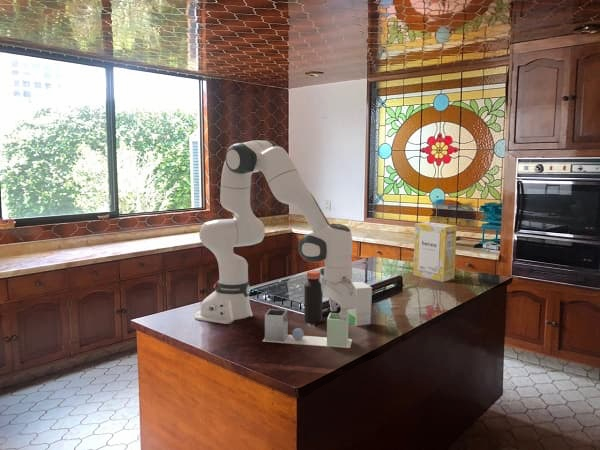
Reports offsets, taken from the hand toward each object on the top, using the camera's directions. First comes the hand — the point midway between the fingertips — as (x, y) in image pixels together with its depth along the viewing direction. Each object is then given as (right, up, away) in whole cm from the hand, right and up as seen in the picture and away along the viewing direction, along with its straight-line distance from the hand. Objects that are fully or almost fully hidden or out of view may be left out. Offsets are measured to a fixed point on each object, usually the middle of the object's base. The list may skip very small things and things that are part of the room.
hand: (337, 314), depth 157 cm
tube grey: (-21, -9, +5) cm, 23 cm away
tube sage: (0, -10, +1) cm, 10 cm away
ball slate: (-13, -9, +4) cm, 17 cm away
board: (-10, -11, +3) cm, 15 cm away
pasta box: (+58, +2, +94) cm, 111 cm away
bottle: (-7, -8, +23) cm, 26 cm away
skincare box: (+10, -8, +22) cm, 25 cm away
